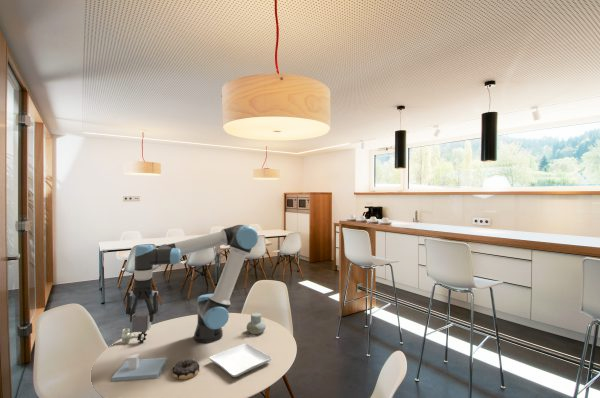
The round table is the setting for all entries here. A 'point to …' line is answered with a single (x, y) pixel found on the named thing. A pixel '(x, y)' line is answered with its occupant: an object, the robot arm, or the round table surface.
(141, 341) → the valve
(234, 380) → the round table surface
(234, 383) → the round table surface
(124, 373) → the board
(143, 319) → the brushed metal cube
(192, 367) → the donut
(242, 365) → the salad plate
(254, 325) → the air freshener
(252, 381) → the round table surface
